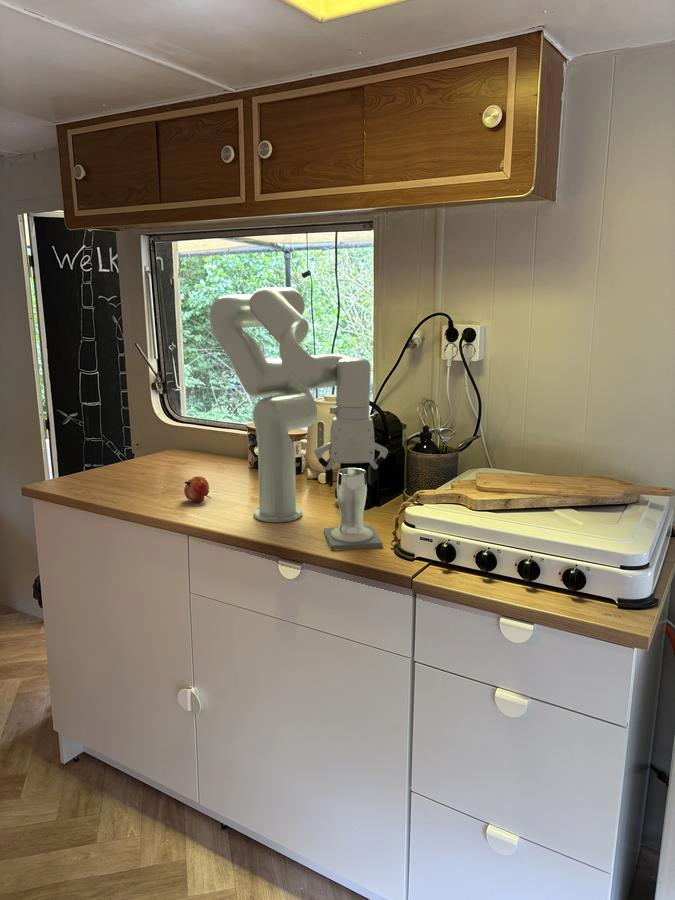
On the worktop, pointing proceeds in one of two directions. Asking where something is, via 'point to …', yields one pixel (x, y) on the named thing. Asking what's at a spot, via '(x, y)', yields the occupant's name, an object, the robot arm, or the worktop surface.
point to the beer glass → (351, 500)
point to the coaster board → (352, 539)
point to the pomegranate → (196, 489)
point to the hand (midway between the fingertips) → (350, 484)
